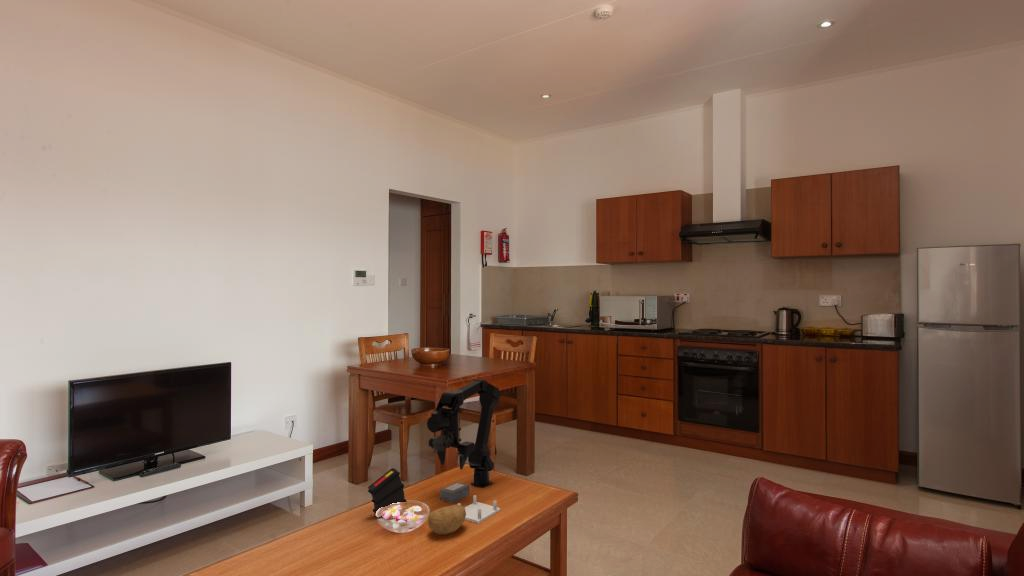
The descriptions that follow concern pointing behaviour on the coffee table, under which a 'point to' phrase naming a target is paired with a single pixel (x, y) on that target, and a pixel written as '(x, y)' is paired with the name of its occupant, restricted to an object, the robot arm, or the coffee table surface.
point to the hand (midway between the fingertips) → (451, 467)
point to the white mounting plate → (480, 511)
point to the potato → (446, 519)
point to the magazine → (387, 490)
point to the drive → (454, 492)
